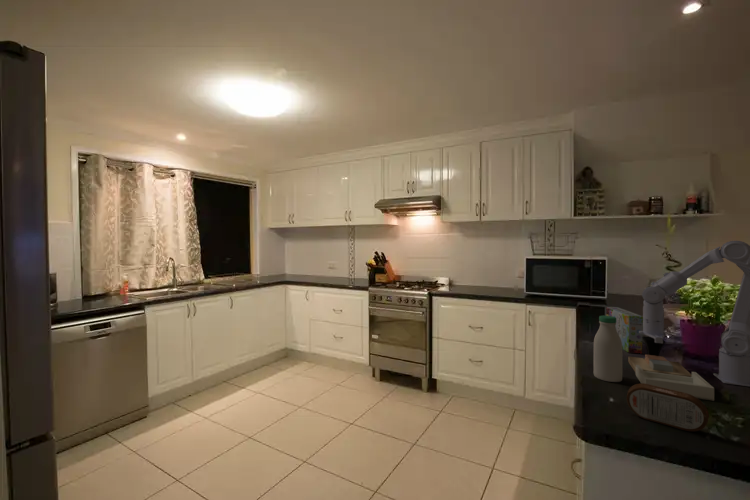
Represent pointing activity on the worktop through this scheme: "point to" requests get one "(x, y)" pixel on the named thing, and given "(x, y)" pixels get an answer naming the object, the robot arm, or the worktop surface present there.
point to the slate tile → (660, 365)
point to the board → (646, 367)
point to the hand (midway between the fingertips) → (653, 358)
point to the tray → (677, 383)
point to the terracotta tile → (654, 358)
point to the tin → (668, 407)
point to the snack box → (628, 328)
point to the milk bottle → (608, 351)
